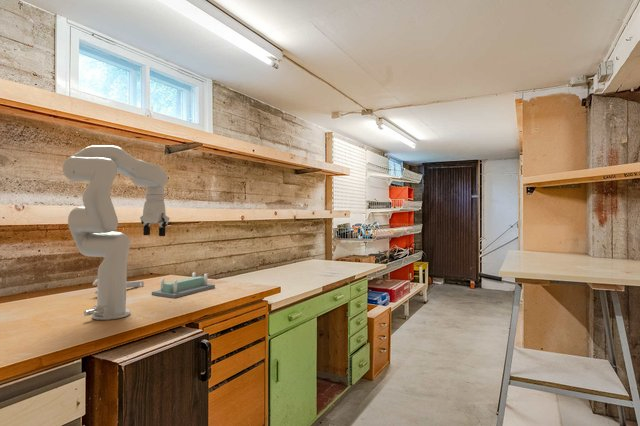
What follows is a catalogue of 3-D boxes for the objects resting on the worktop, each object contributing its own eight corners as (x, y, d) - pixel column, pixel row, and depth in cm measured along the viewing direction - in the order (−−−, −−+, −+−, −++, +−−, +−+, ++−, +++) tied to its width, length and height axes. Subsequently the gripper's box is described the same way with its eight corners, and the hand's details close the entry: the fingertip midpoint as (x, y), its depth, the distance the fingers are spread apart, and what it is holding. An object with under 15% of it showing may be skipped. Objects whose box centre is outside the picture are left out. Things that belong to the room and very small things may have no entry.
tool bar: (169, 293, 174) (169, 284, 174) (162, 292, 176) (163, 283, 176) (204, 284, 196) (204, 276, 196) (198, 283, 198) (198, 276, 198)
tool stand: (174, 298, 170) (174, 281, 170) (151, 295, 176) (152, 279, 176) (214, 287, 196) (215, 273, 196) (194, 285, 202) (194, 271, 202)
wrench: (143, 291, 196) (93, 296, 168) (140, 291, 197) (90, 296, 168) (145, 276, 197) (95, 278, 169) (142, 276, 198) (92, 278, 169)
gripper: (134, 198, 173) (134, 235, 173) (162, 198, 166) (161, 236, 166) (148, 199, 180) (147, 234, 180) (175, 199, 173) (174, 236, 173)
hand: (154, 235), depth 173 cm, fingers open, 9 cm apart
